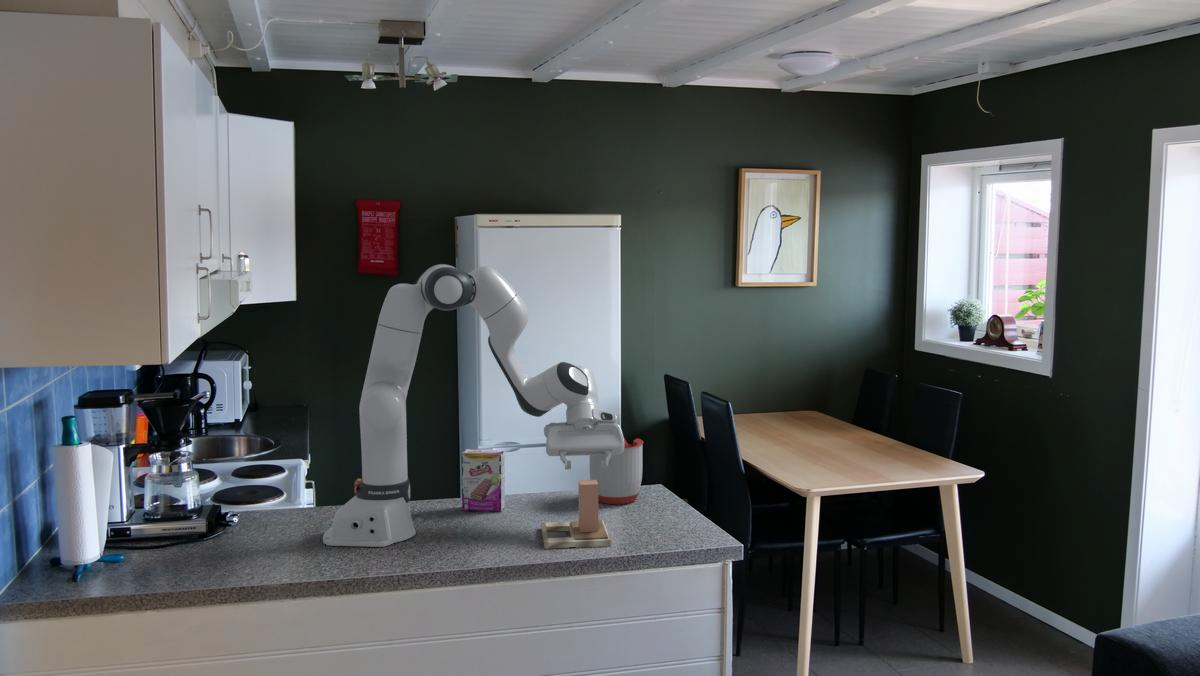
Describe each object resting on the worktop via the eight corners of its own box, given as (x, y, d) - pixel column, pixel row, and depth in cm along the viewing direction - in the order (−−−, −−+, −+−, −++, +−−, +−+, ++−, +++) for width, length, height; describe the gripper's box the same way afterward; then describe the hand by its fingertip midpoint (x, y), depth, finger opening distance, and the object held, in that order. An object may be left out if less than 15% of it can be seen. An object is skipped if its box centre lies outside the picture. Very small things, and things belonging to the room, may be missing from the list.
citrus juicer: (656, 495, 270) (656, 427, 268) (625, 510, 255) (625, 438, 253) (610, 488, 278) (610, 422, 276) (578, 502, 264) (577, 432, 262)
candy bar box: (461, 511, 255) (460, 452, 253) (466, 506, 260) (465, 448, 258) (501, 512, 254) (501, 453, 252) (505, 507, 259) (504, 449, 257)
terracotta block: (580, 532, 230) (580, 484, 229) (578, 526, 235) (578, 480, 234) (598, 531, 231) (598, 484, 230) (596, 526, 235) (596, 479, 234)
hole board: (544, 548, 224) (544, 541, 224) (541, 528, 240) (541, 521, 239) (610, 546, 226) (610, 538, 225) (603, 526, 241) (603, 518, 241)
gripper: (543, 416, 240) (545, 462, 231) (622, 414, 242) (627, 460, 234) (543, 429, 245) (545, 475, 236) (620, 428, 247) (625, 473, 238)
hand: (586, 468), depth 235 cm, fingers open, 8 cm apart
